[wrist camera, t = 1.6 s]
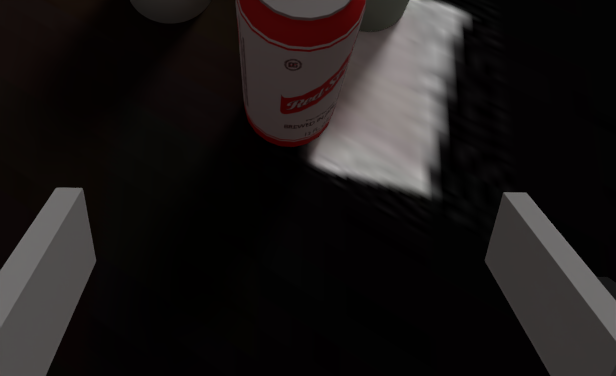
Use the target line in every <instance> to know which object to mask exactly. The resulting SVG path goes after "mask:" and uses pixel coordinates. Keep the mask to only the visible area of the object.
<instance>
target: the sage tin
mask: <svg viewBox="0 0 616 376" xmlns="http://www.w3.org/2000/svg"><path fill="white" fill-rule="evenodd" d="M408 2H409V0H366V8H365V12H364V15H363V18H362V22H361V25H360V28H359V31H365V32H374V31H380V30H383V29H386V28H388V27H390V26H392V25H393V24H394V23H396V22H397V21H398V20H399V19H400V18H401V16H402V15H403V13H404V11H405V9H406V7H407V4H408Z"/></svg>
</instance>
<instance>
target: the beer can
mask: <svg viewBox="0 0 616 376" xmlns="http://www.w3.org/2000/svg"><path fill="white" fill-rule="evenodd" d="M365 8H366V0H236V12H237V24H238V36H239V48H240V60H241V72H242V84H243V96H244V107H245V111H246V115H247V119H248V122H249V123H250V125H251V126H252V127H253V129H254V130H255V132H256V133H257V134H258V135H260V136H261V137H262V138H264V139H265V140H266V141H268V142H270V143H273V144H276V145H278V146H287V147H295V146H299V145H304V144H307V143H309V142H311V141H312V140H314V139H316V138H317V137H319V136H320V134H321V133H322V132H323V131H324V130H325V129H326V127H327V126H328V124H329V121H330V119H331V116H332V114H333V110H334V107H335V104H336V101H337V98H338V95H339V91H340V88H341V85H342V82H343V79H344V76H345V72H346V69H347V66H348V63H349V60H350V56H351V53H352V50H353V47H354V44H355V41H356V37H357V34H358V31H359V28H360V25H361V22H362V18H363V15H364V12H365Z"/></svg>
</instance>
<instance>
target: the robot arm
mask: <svg viewBox="0 0 616 376" xmlns="http://www.w3.org/2000/svg"><path fill="white" fill-rule="evenodd" d="M95 262H96V258H95V252H94V247H93V242H92V236H91V231H90V225H89V220H88V214H87V209H86V203H85V198H84V193H83V188H56V189H55V190H54V192H53V193H52V195H51V196H50V198H49V199H48V201H47V202H46V204H45V205H44V207H43V208H42V210H41V211H40V213H39V214H38V216H37V217H36V219H35V220H34V222H33V223H32V225H31V226H30V227H29V229H28V230H27V232H26V233H25V235H24V236H23V238H22V239H21V241H20V242H19V244H18V245H17V247H16V248H15V250H14V251H13V253H12V254H11V256H10V257H9V259H8V260H7V262H6V263H5V265H4V266H3V268H2V269H1V271H0V376H46V373H47V371H48V369H49V367H50V364H51V362H52V360H53V357H54V355H55V353H56V351H57V348H58V346H59V344H60V342H61V339H62V337H63V335H64V333H65V330H66V328H67V326H68V323H69V321H70V319H71V317H72V314H73V312H74V310H75V308H76V305H77V303H78V301H79V299H80V296H81V294H82V292H83V289H84V287H85V285H86V283H87V280H88V278H89V276H90V274H91V271H92V269H93V267H94V265H95ZM485 262H486V264H487V265H488V267H489V269H490V271H491V272H492V274H493V276H494V278H495V279H496V281H497V283H498V285H499V286H500V288H501V290H502V292H503V293H504V295H505V297H506V299H507V300H508V302H509V304H510V306H511V307H512V309H513V311H514V313H515V314H516V316H517V318H518V320H519V321H520V323H521V325H522V326H523V328H524V330H525V332H526V333H527V335H528V337H529V339H530V340H531V342H532V344H533V346H534V347H535V349H536V351H537V353H538V354H539V356H540V358H541V360H542V361H543V363H544V365H545V367H546V368H547V370H548V372H549V374H550V375H551V376H616V283H615V282H614V281H612V280H611V279H609V278H608V277H596V276H595V275H594V274H593V273H592V271H591V270H590V269H589V268H588V267H587V265H586V264H585V263H584V262H583V261H582V259H581V258H580V257H579V256H578V254H577V253H576V252H575V251H574V250H573V248H572V247H571V246H570V245H569V244H568V242H567V241H566V240H565V239H564V238H563V236H562V235H561V234H560V233H559V232H558V230H557V229H556V228H555V227H554V226H553V224H552V223H551V222H550V221H549V219H548V218H547V217H546V216H545V215H544V213H543V212H542V211H541V210H540V209H539V207H538V206H537V205H536V204H535V203H534V201H533V200H532V199H531V198H530V197H529V195H528V194H527V193H506V192H503V196H502V200H501V203H500V207H499V211H498V214H497V218H496V222H495V225H494V229H493V232H492V236H491V240H490V243H489V247H488V251H487V254H486V258H485Z"/></svg>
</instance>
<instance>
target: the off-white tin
mask: <svg viewBox="0 0 616 376" xmlns="http://www.w3.org/2000/svg"><path fill="white" fill-rule="evenodd" d="M130 2H131V3H132V5H133V6H134V8H135V9H136V10H137V11H138V12H139V13H141V14H142V15H143V16H145V17H146V18H149V19H151V20H153V21H156V22H160V23H168V24H170V23H181V22H185V21H188V20H190V19H192V18H194V17H196V16H198V15H199V14H200V13H202V12H203V11H204V10H205V9H206V8H207V6H208V5H209V3H210V2H211V0H130Z"/></svg>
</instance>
